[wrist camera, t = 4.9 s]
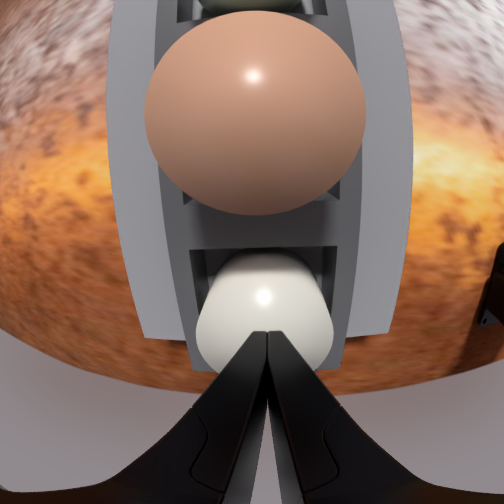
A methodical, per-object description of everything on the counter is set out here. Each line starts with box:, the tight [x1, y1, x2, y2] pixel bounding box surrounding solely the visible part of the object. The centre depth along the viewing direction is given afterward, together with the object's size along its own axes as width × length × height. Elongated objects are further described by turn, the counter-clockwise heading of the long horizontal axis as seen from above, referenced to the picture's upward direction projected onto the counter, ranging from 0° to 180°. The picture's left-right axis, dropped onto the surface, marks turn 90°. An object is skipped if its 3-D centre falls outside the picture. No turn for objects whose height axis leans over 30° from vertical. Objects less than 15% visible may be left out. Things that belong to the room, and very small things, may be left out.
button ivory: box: [196, 247, 334, 373], centre depth 9 cm, size 4×4×3 cm
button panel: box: [106, 0, 413, 372], centre depth 9 cm, size 12×18×4 cm, turn 3°
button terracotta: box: [144, 11, 366, 215], centre depth 5 cm, size 4×4×3 cm
